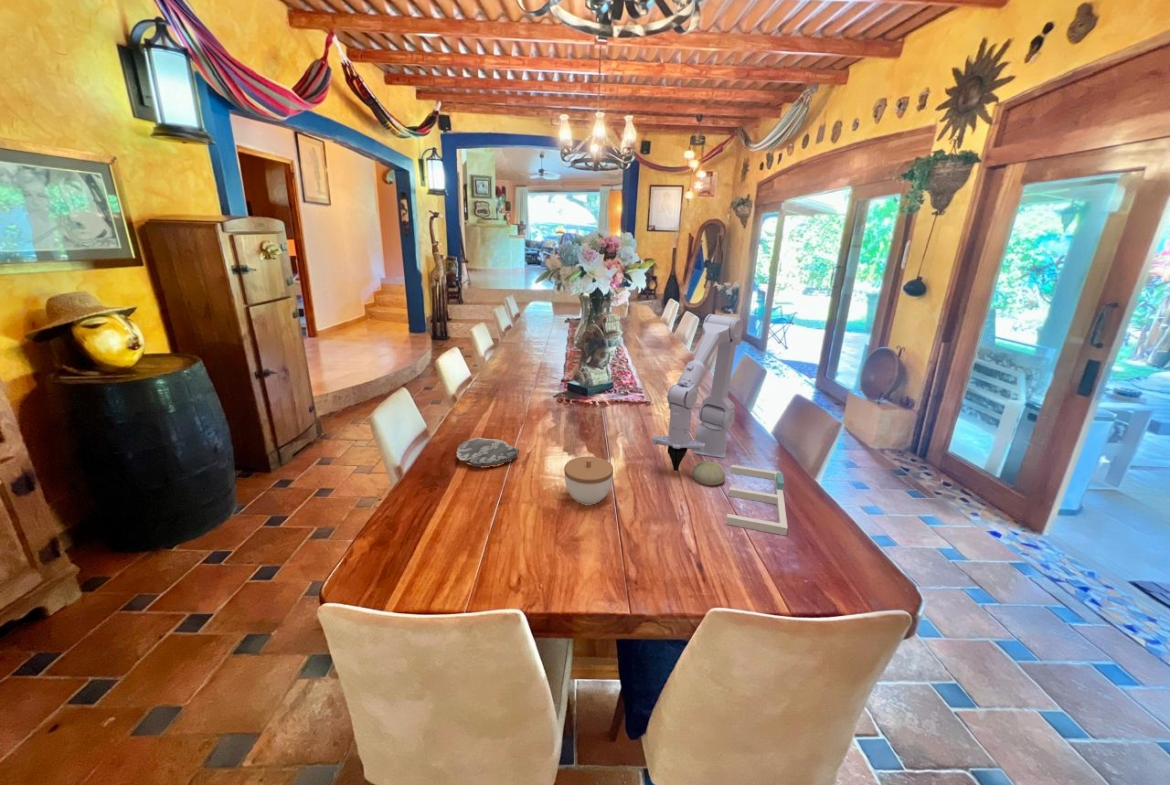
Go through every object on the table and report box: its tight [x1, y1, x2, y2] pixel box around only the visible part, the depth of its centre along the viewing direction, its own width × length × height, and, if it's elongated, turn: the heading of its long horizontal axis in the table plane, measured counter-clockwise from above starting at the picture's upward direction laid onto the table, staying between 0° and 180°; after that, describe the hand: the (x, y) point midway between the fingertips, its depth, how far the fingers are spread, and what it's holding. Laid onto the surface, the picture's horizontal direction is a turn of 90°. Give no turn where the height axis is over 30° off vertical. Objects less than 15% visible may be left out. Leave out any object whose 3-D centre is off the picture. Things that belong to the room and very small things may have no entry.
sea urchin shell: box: [691, 460, 726, 486], centre depth 132 cm, size 9×8×8 cm
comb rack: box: [725, 464, 789, 536], centre depth 123 cm, size 14×28×4 cm, turn 161°
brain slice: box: [456, 437, 520, 468], centre depth 144 cm, size 20×17×3 cm
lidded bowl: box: [563, 456, 614, 506], centre depth 121 cm, size 13×13×11 cm
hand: (676, 469), depth 135 cm, fingers closed
